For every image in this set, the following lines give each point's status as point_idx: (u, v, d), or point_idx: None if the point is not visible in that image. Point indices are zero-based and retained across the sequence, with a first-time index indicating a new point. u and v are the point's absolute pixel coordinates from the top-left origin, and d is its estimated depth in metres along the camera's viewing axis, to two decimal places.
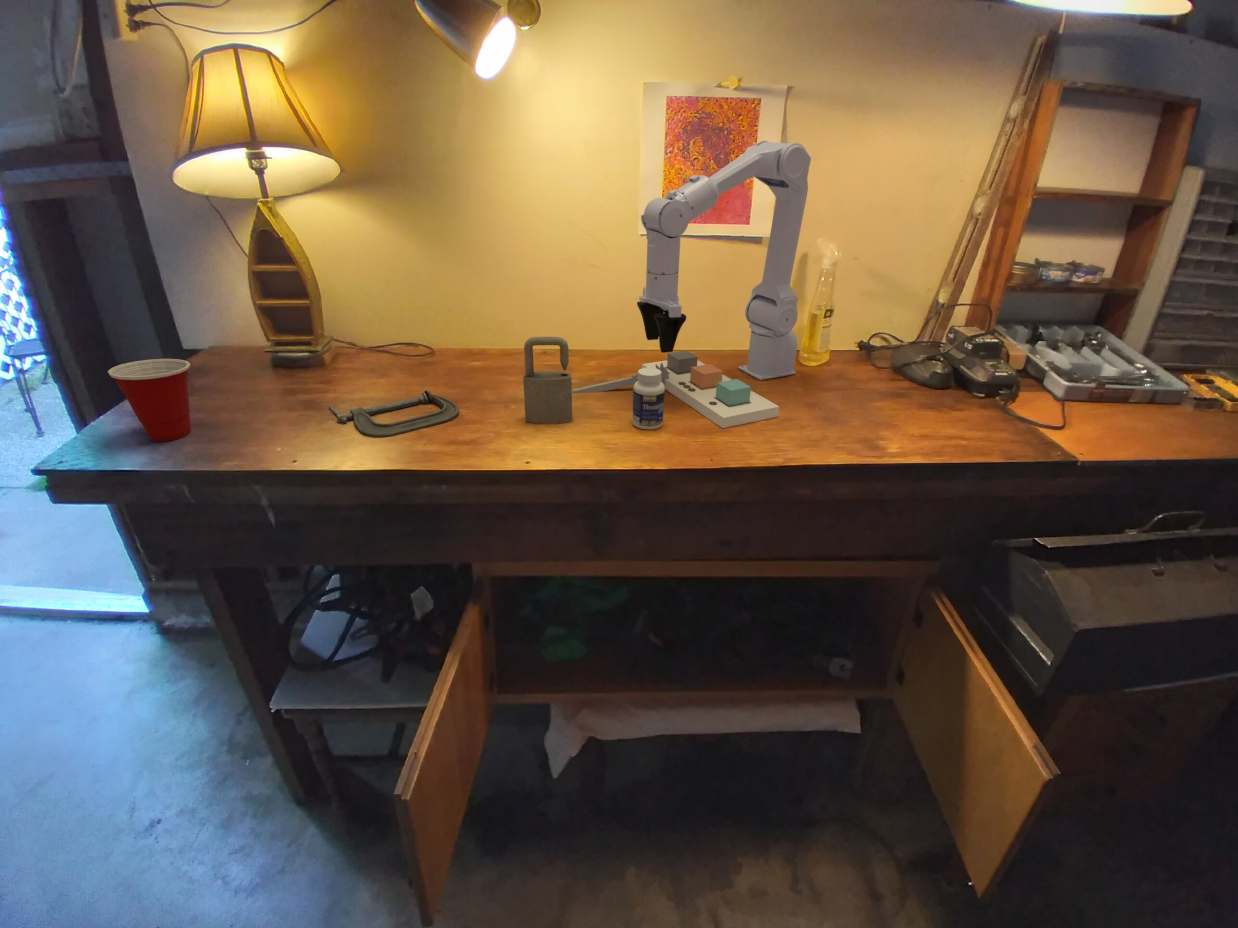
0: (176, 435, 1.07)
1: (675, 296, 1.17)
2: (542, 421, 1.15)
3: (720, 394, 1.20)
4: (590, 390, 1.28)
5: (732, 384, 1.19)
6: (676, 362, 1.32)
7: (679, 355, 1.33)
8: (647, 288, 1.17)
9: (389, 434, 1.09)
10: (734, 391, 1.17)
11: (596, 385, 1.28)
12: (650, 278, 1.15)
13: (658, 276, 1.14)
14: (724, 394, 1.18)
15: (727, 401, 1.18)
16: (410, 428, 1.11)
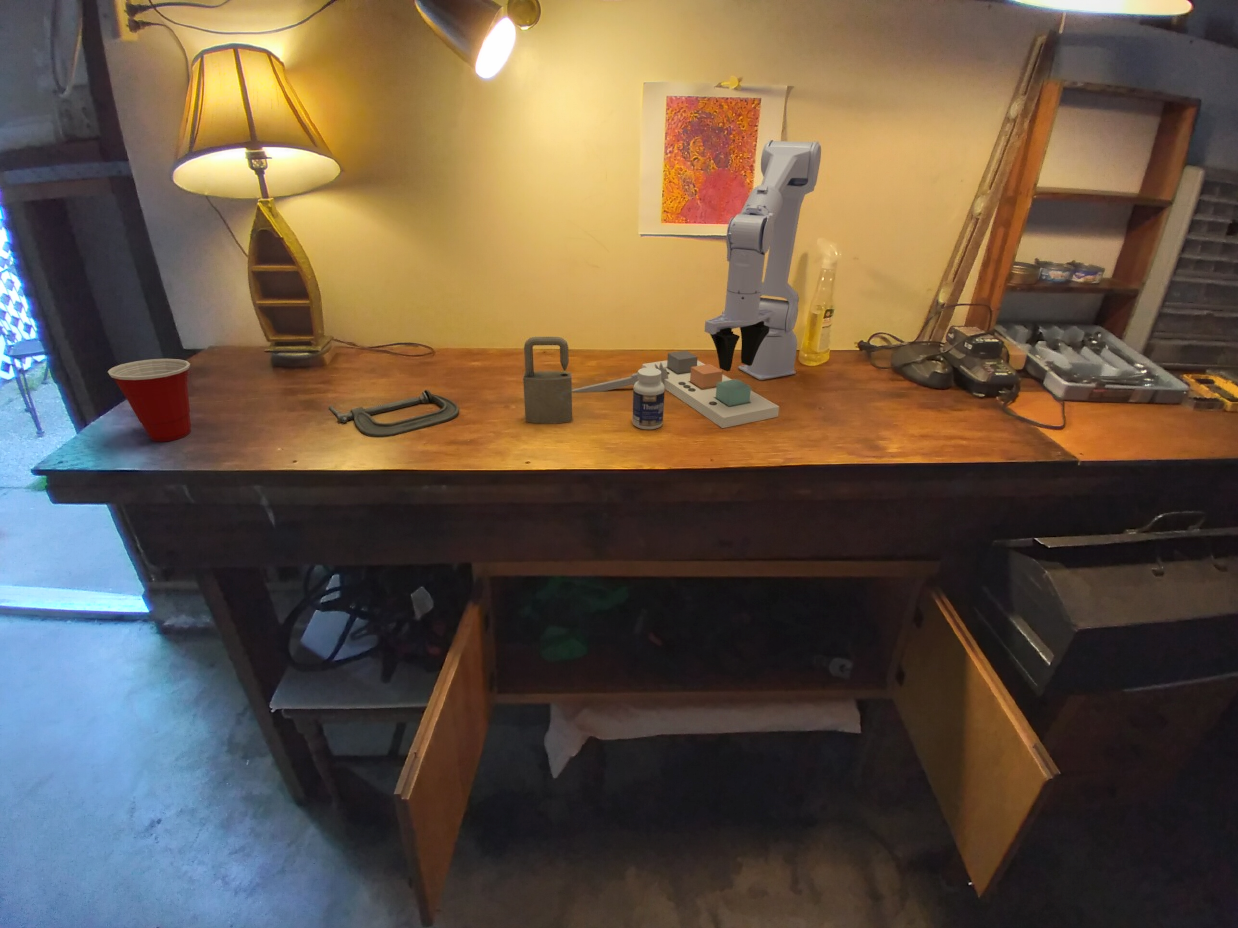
0: (176, 435, 1.07)
1: (739, 318, 1.10)
2: (542, 421, 1.15)
3: (720, 394, 1.20)
4: (589, 390, 1.28)
5: (732, 384, 1.19)
6: (676, 362, 1.32)
7: (679, 355, 1.33)
8: None
9: (390, 433, 1.09)
10: (734, 391, 1.17)
11: (595, 385, 1.28)
12: None
13: (727, 291, 1.11)
14: (724, 394, 1.18)
15: (727, 401, 1.18)
16: (411, 427, 1.11)
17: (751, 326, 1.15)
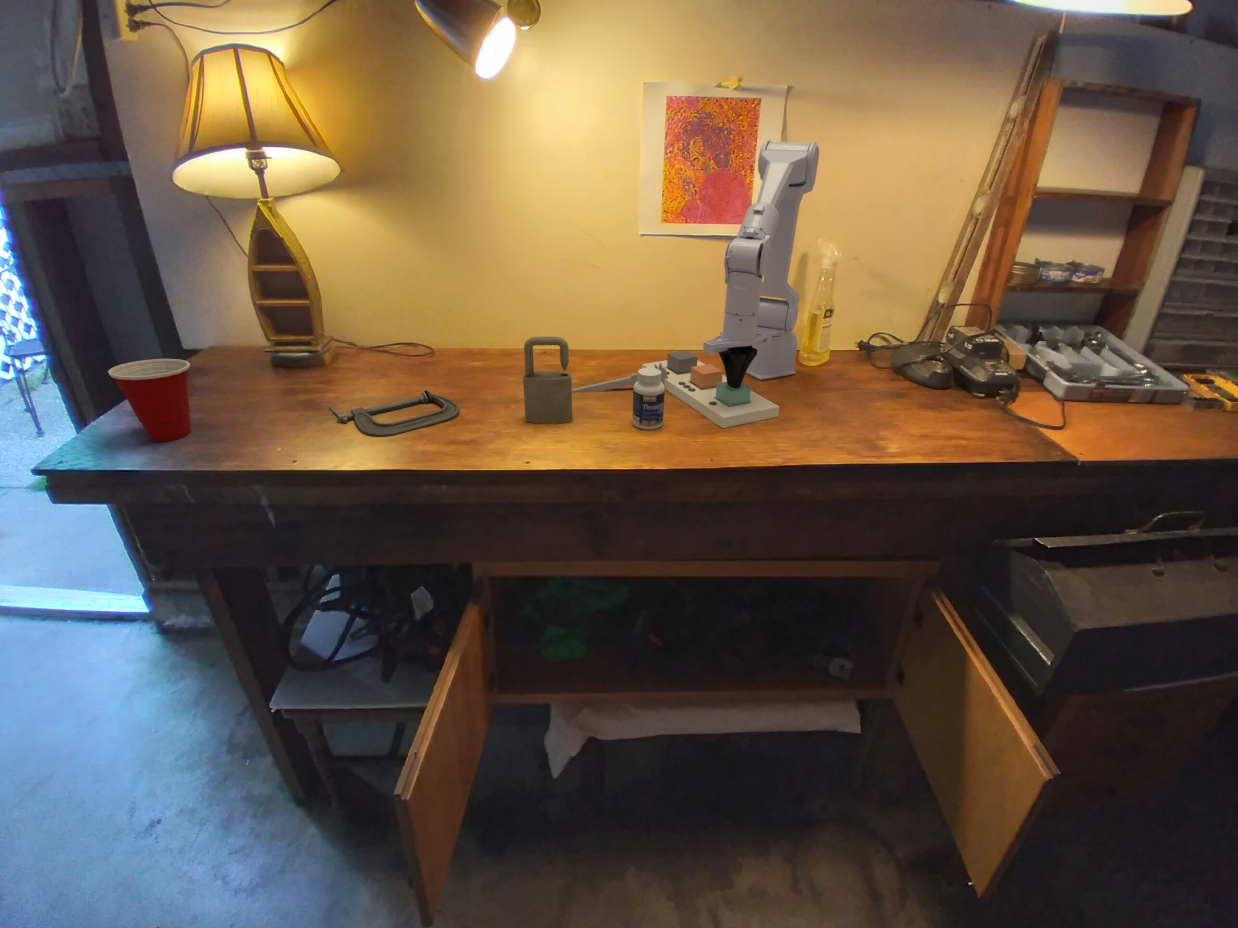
0: (176, 435, 1.07)
1: (737, 339, 1.12)
2: (542, 421, 1.15)
3: (720, 395, 1.20)
4: (589, 390, 1.28)
5: None
6: (676, 362, 1.32)
7: (679, 355, 1.33)
8: None
9: (390, 433, 1.10)
10: (734, 392, 1.17)
11: (595, 385, 1.28)
12: None
13: (725, 313, 1.13)
14: (724, 395, 1.19)
15: (727, 402, 1.18)
16: (411, 427, 1.11)
17: (739, 348, 1.16)
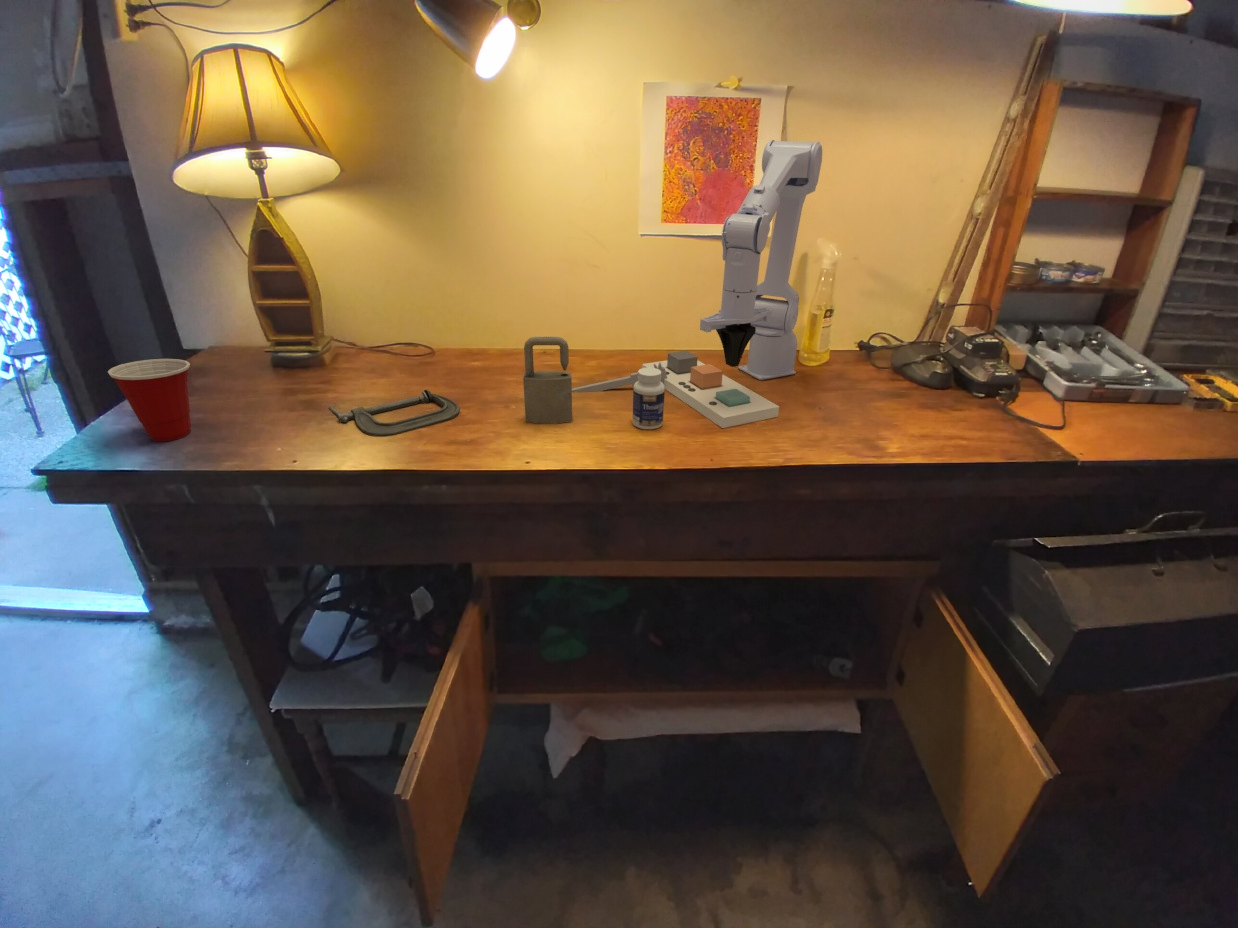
0: (176, 435, 1.07)
1: (734, 316, 1.12)
2: (542, 421, 1.15)
3: None
4: (588, 389, 1.28)
5: (731, 393, 1.20)
6: (676, 362, 1.32)
7: (679, 355, 1.33)
8: None
9: (391, 433, 1.10)
10: (733, 401, 1.18)
11: (594, 384, 1.28)
12: None
13: (723, 290, 1.12)
14: None
15: None
16: (412, 427, 1.12)
17: (737, 326, 1.15)
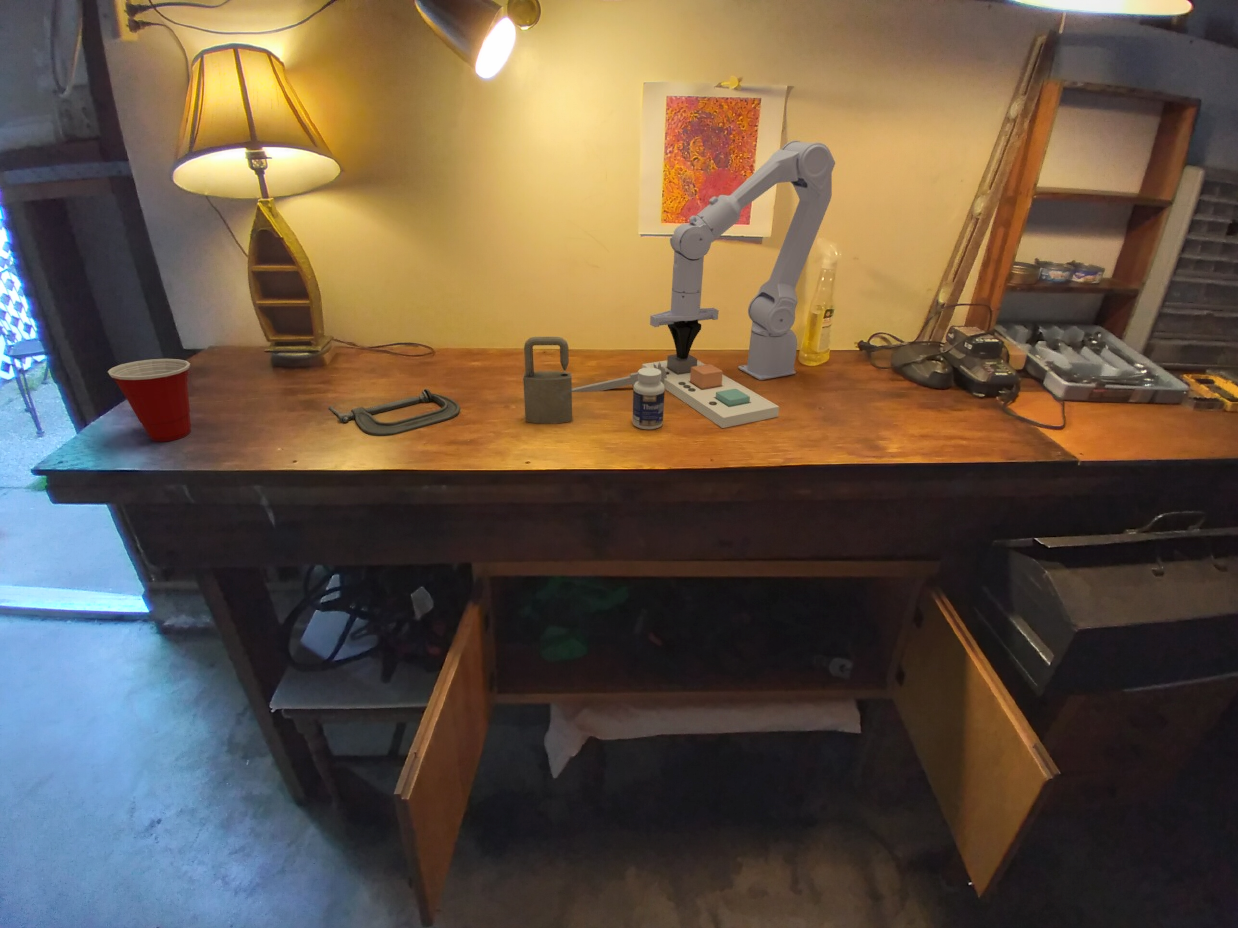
0: (176, 435, 1.07)
1: (680, 314, 1.27)
2: (542, 421, 1.15)
3: None
4: (588, 390, 1.28)
5: (731, 393, 1.20)
6: (676, 364, 1.32)
7: (678, 357, 1.33)
8: None
9: (392, 432, 1.10)
10: (733, 401, 1.18)
11: (594, 384, 1.29)
12: None
13: None
14: None
15: None
16: (413, 426, 1.12)
17: (686, 323, 1.30)
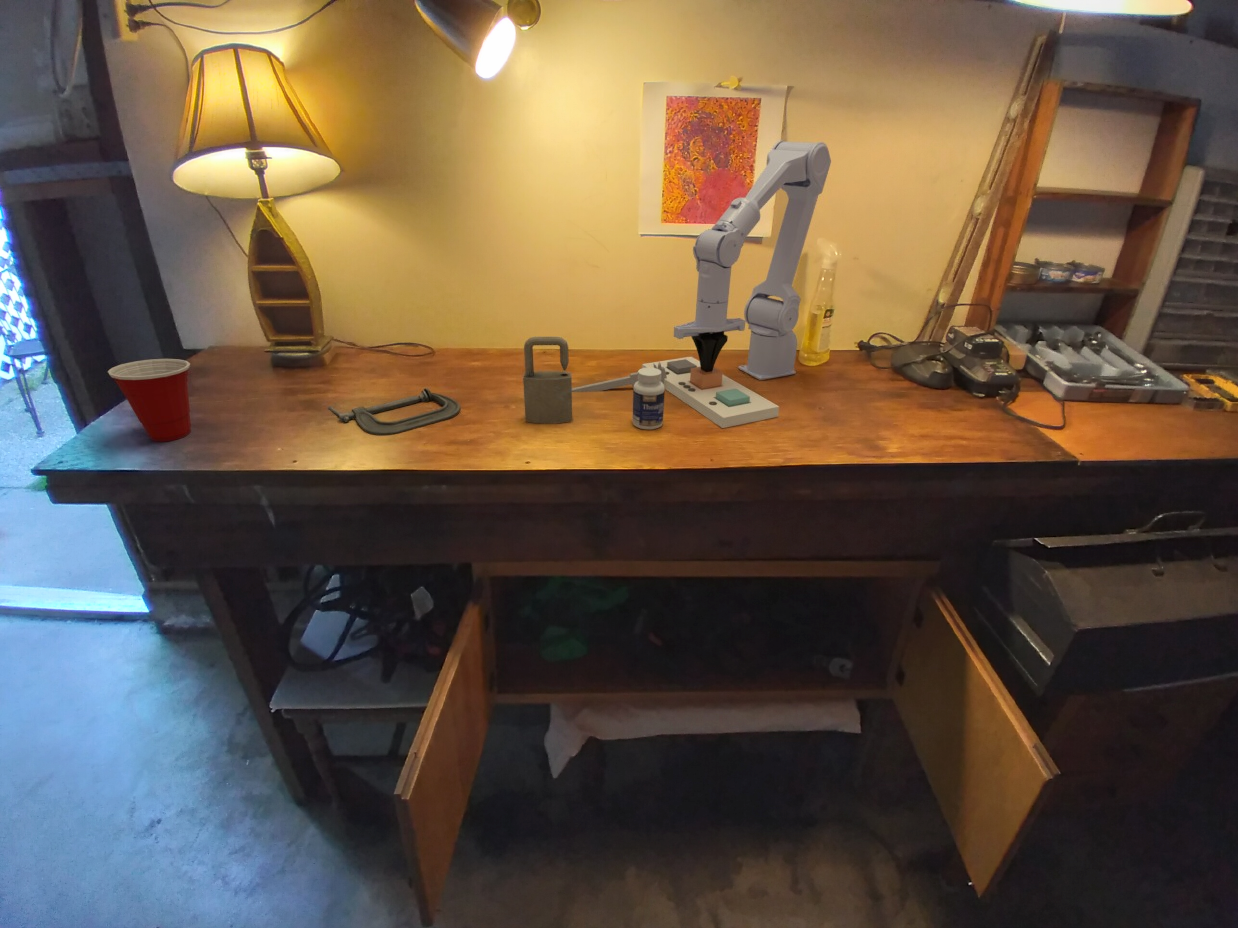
0: (176, 435, 1.07)
1: (706, 325, 1.19)
2: (542, 421, 1.15)
3: None
4: (588, 389, 1.28)
5: (731, 393, 1.20)
6: (675, 371, 1.33)
7: (678, 363, 1.34)
8: None
9: (394, 432, 1.10)
10: (733, 401, 1.18)
11: (594, 384, 1.28)
12: None
13: (697, 300, 1.20)
14: None
15: None
16: (414, 425, 1.12)
17: (711, 335, 1.23)
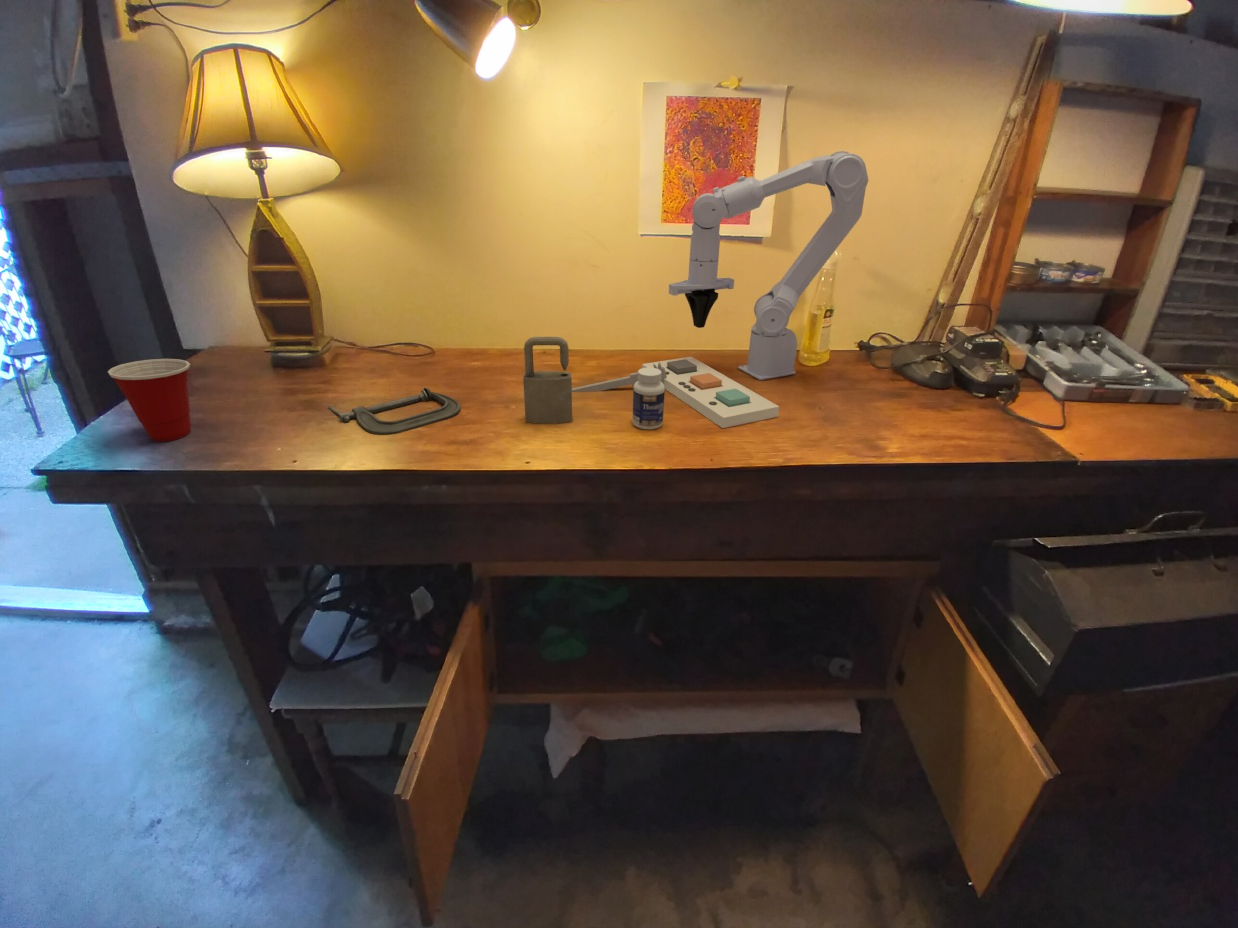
0: (176, 435, 1.07)
1: (698, 282, 1.30)
2: (542, 421, 1.15)
3: None
4: (588, 389, 1.28)
5: (731, 393, 1.20)
6: (675, 371, 1.33)
7: (678, 363, 1.34)
8: None
9: (395, 431, 1.10)
10: (733, 401, 1.18)
11: (594, 384, 1.29)
12: None
13: (689, 260, 1.31)
14: None
15: None
16: (415, 425, 1.12)
17: (703, 292, 1.33)
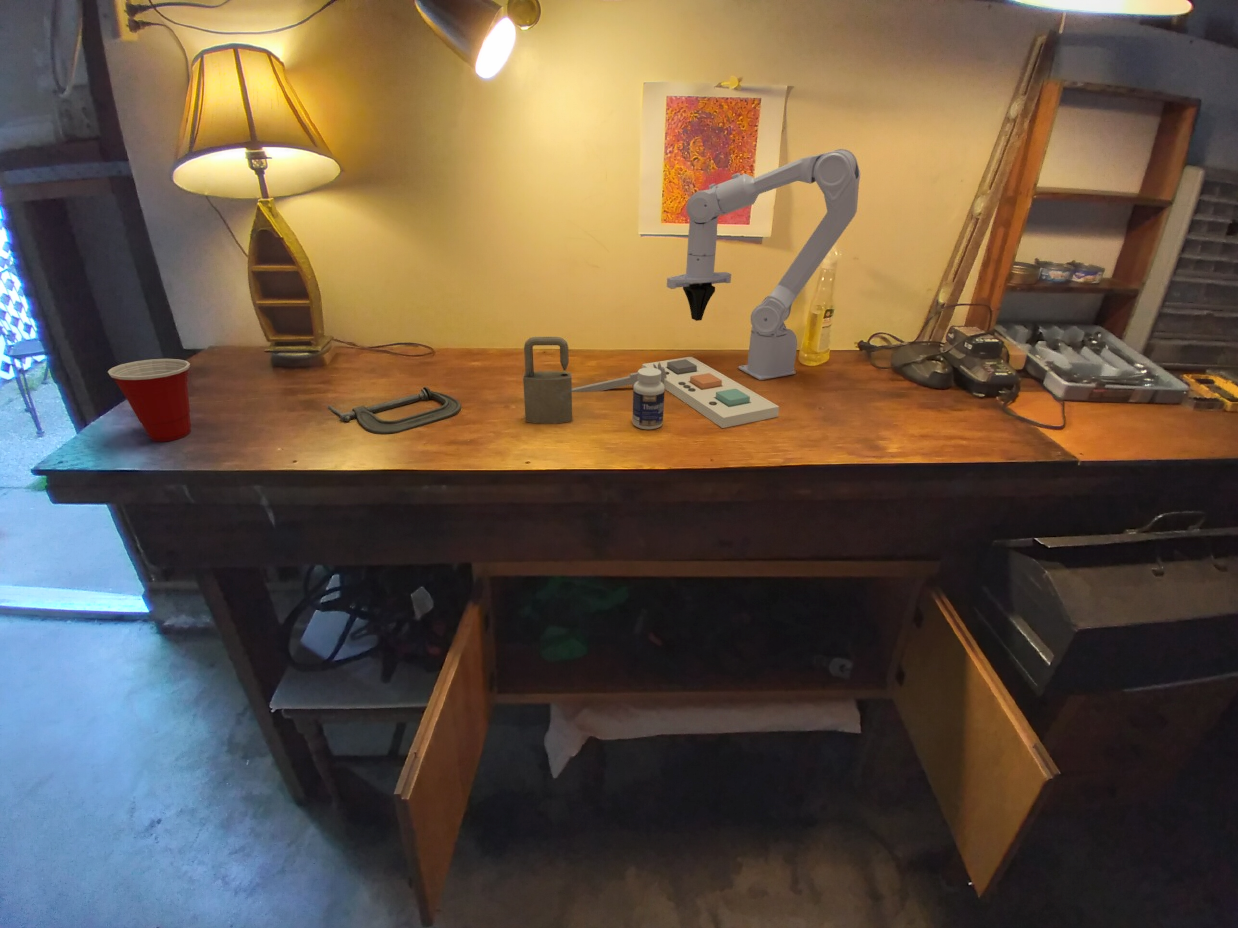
0: (176, 435, 1.07)
1: (695, 276, 1.34)
2: (542, 421, 1.15)
3: None
4: (588, 390, 1.28)
5: (731, 393, 1.20)
6: (675, 371, 1.33)
7: (678, 363, 1.34)
8: None
9: (396, 430, 1.11)
10: (733, 401, 1.18)
11: (594, 384, 1.29)
12: None
13: (687, 254, 1.35)
14: None
15: None
16: (416, 424, 1.13)
17: (700, 286, 1.37)
